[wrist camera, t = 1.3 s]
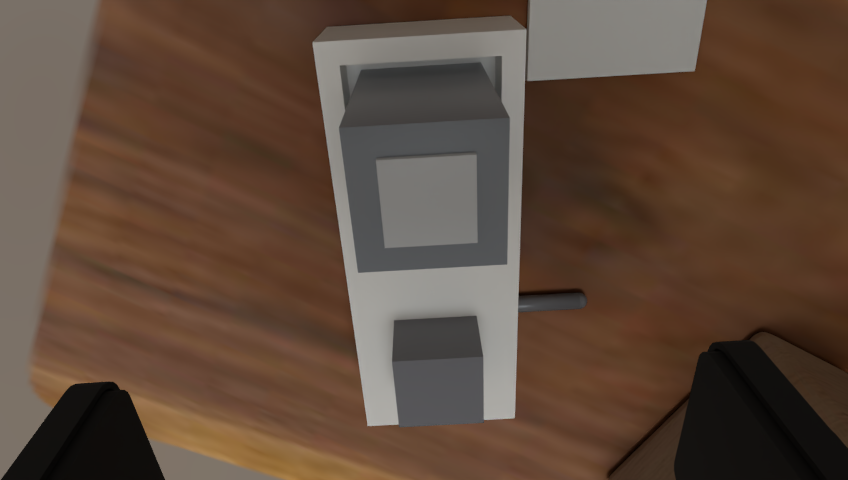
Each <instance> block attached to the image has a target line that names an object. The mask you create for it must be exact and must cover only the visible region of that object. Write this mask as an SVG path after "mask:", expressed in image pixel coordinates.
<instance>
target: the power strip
mask: <svg viewBox="0 0 848 480" xmlns="http://www.w3.org/2000/svg"><path fill="white" fill-rule="evenodd" d="M526 31H527V29H526V28H524V27H523V26H522V25H521V24H520V23H519V22H517V21H516V20H515V19H514V18H513V17H511V16H494V17H478V18H462V19H446V20H429V21H413V22H397V23H381V24H365V25H348V26H332V27H326V28H325V29H324V30H323V32H322V33H321V34H320V35H319V36H318V37H317V38H316V39H315V40H314V41H313V42H312V43H313V50H314V57H315V64H316V71H317V78H318V85H319V92H320V99H321V106H322V113H323V119H324V126H325V133H326V140H327V147H328V154H329V161H330V168H331V175H332V182H333V189H334V195H335V202H336V209H337V216H338V223H339V230H340V237H341V244H342V251H343V258H344V265H345V272H346V278H347V285H348V292H349V299H350V306H351V313H352V320H353V327H354V334H355V341H356V348H357V354H358V361H359V368H360V375H361V382H362V389H363V396H364V403H365V410H366V417H367V424H368V426H377V425H396V424H399V427H412V426H431V425H450V424H469V423H484V420H490V419H509V418H515V393H516V360H517V328H518V312H532V311H550V310H568V309H581V308H584V307H585V306H586V304H587V298H586V296H585V295H584V294H582V293H562V294H544V295H526V296H518V295H519V262H520V229H521V196H522V163H523V130H524V97H525V64H526ZM478 62H481V64H482V65H483V67H484V69H485V71H486V73H487V75H488V77H489V79H490V81H491V83H492V85H493V86H494V88H495V90H496V92H497V94H498V96H499V98H500V100H501V102H502V104H503V105H504V107H505V109H506V111H507V113H508V115H509V117H510V140H509V195H508V250H507V264H506V265H489V266H471V267H453V268H435V269H418V270H400V271H382V272H364V273H358V269H357V262H356V254H355V247H354V239H353V231H352V224H351V216H350V209H349V201H348V194H347V186H346V179H345V171H344V163H343V156H342V148H341V141H340V133H339V126H340V123H341V121H342V118H343V116H344V113H345V110H346V108H347V105H348V103H349V100H350V97H351V95H352V92H353V90H354V87H355V84H356V82H357V79H358V76H359V74H360V71H361V70H363V69H380V68H396V67H412V66H429V65H445V64H462V63H478Z"/></svg>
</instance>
